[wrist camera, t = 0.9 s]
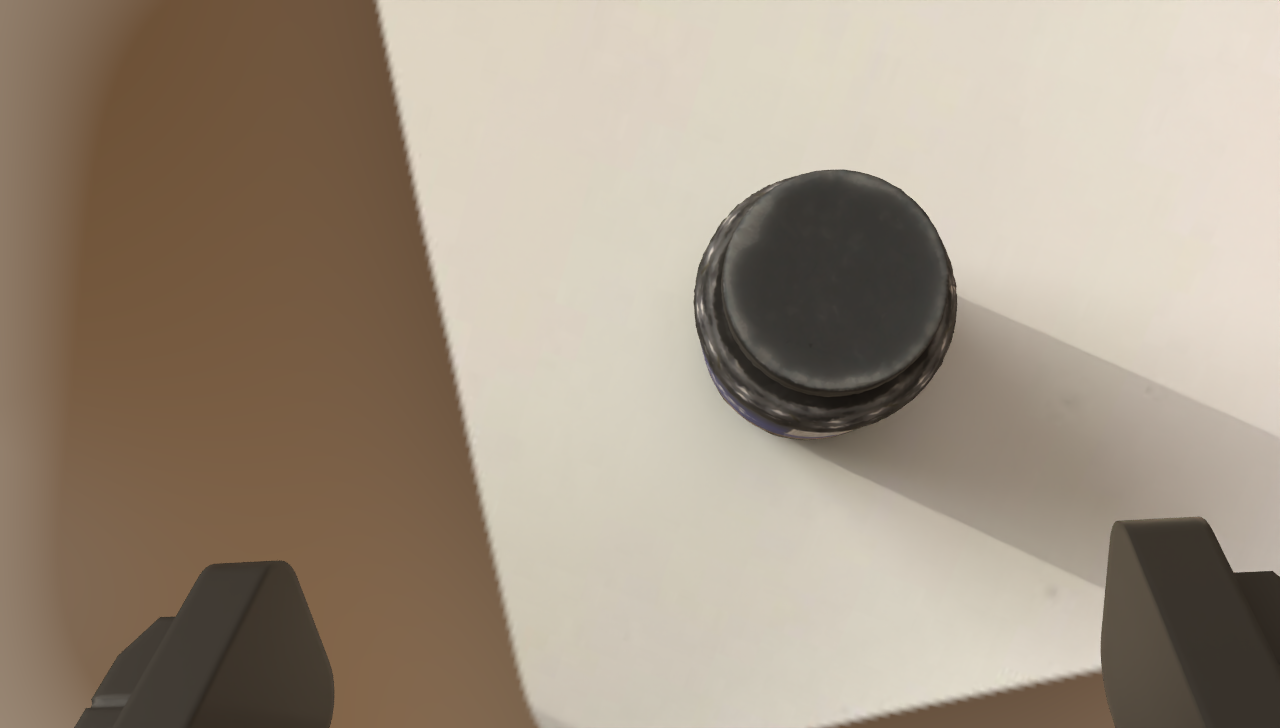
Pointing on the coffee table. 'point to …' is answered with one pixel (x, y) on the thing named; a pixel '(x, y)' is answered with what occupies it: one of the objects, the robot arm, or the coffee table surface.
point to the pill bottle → (824, 304)
